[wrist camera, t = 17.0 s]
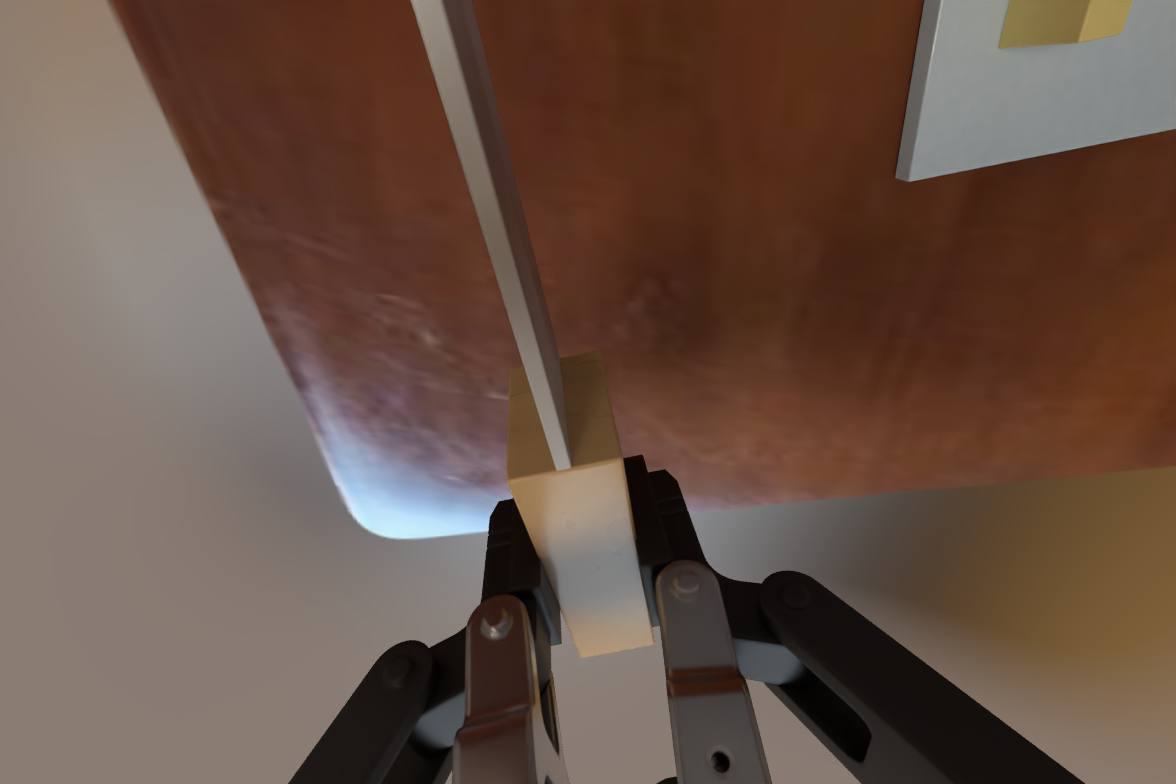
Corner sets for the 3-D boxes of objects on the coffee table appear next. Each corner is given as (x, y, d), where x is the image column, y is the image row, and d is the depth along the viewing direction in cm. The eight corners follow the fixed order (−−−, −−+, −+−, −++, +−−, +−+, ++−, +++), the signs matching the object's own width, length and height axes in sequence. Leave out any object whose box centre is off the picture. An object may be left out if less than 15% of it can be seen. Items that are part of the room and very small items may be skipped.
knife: (632, 537, 17) (655, 645, 14) (570, 549, 17) (580, 659, 14) (489, -248, 6) (464, -471, 3) (315, -210, 6) (135, -397, 3)
